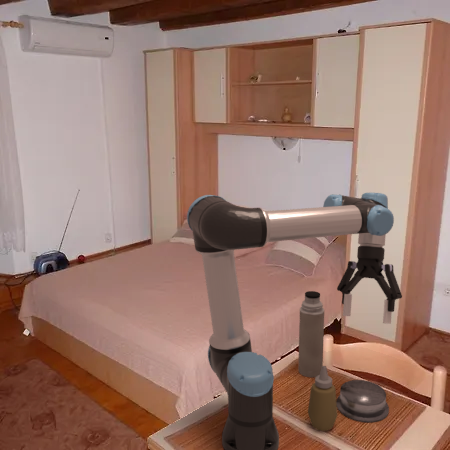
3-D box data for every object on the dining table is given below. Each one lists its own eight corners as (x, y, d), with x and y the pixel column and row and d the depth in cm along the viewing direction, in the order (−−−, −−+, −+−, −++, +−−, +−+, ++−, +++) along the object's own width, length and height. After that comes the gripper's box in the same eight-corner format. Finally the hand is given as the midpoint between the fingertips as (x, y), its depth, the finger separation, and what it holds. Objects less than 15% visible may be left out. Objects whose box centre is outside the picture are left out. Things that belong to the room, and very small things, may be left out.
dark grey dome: (340, 422, 138) (341, 406, 137) (332, 392, 153) (333, 377, 152) (395, 423, 138) (396, 407, 136) (381, 393, 152) (382, 378, 151)
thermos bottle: (299, 364, 170) (301, 288, 164) (322, 366, 168) (325, 289, 162) (297, 375, 163) (299, 296, 156) (321, 378, 161) (324, 298, 154)
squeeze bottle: (337, 435, 133) (339, 376, 129) (306, 432, 134) (308, 373, 130) (336, 417, 140) (339, 360, 136) (308, 414, 142) (309, 358, 138)
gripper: (418, 249, 135) (413, 326, 134) (344, 245, 155) (339, 313, 153) (403, 246, 131) (397, 326, 129) (329, 243, 150) (323, 313, 149)
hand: (365, 319), depth 141 cm, fingers open, 13 cm apart
